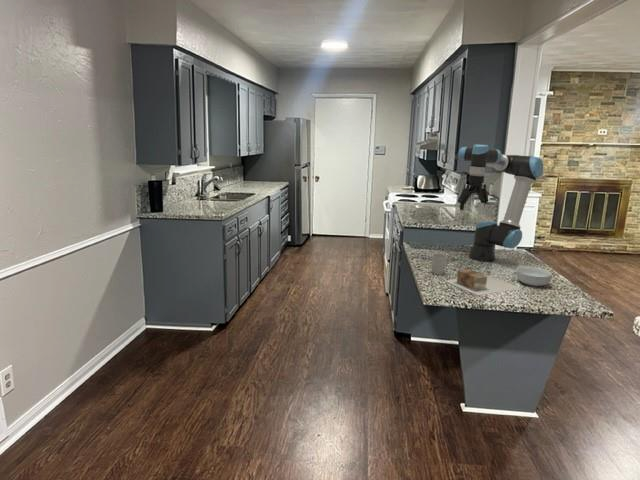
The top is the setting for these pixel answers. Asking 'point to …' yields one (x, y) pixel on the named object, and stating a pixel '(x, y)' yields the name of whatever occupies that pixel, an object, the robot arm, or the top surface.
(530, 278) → the cereal bowl
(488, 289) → the mat
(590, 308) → the top surface
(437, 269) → the cup
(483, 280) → the block
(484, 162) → the robot arm
